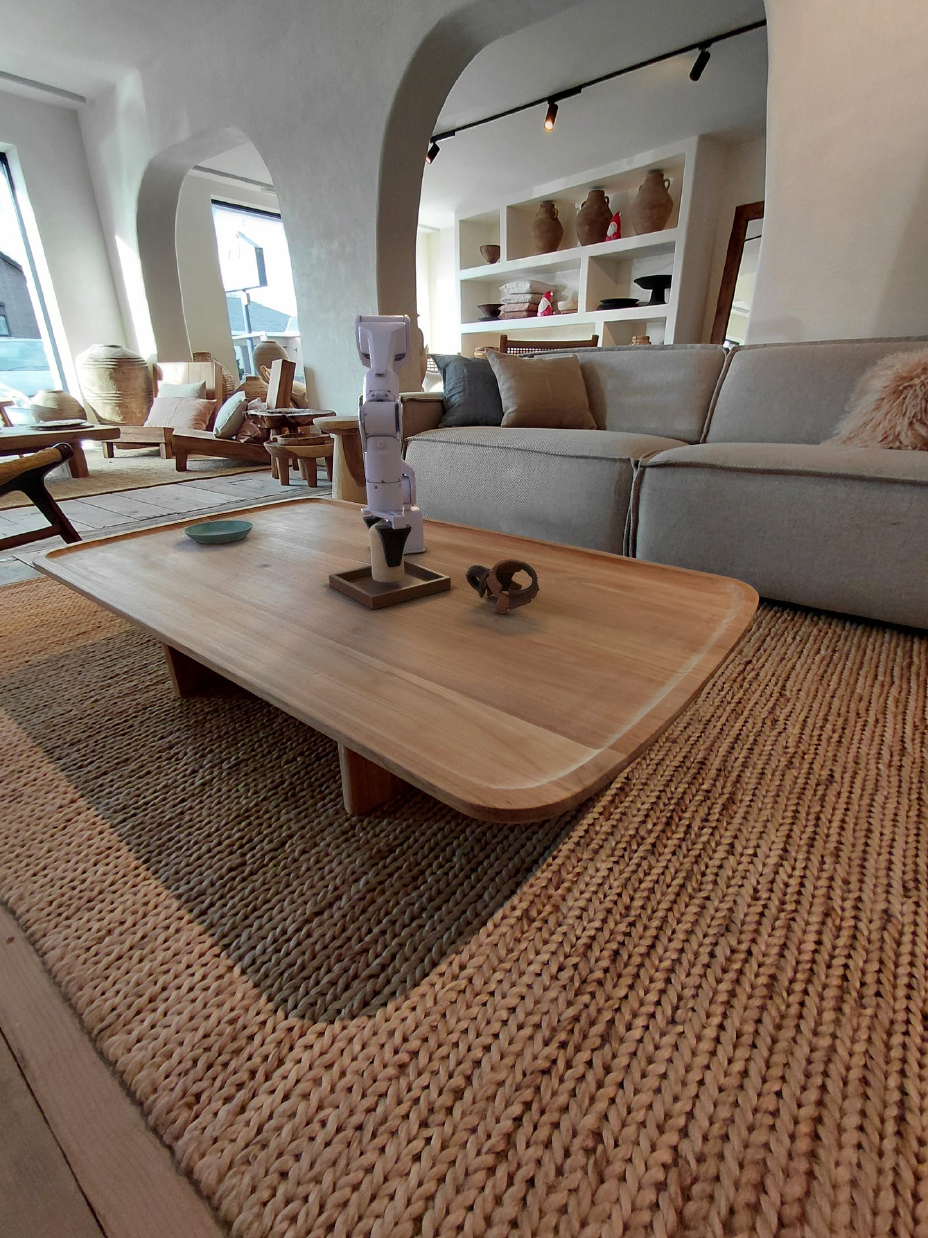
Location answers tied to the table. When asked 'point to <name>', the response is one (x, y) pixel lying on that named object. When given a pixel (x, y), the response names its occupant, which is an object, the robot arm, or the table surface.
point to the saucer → (219, 531)
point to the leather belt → (503, 583)
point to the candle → (382, 559)
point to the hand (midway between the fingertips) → (388, 561)
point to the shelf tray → (389, 585)
